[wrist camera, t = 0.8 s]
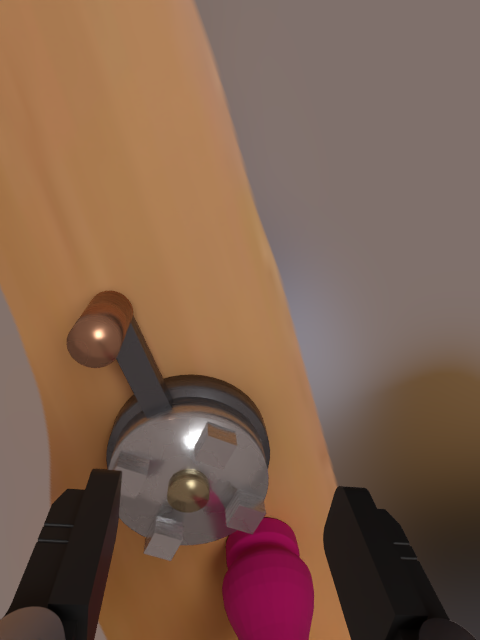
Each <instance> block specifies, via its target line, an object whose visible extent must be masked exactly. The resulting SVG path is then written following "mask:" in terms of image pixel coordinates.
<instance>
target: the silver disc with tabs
mask: <svg viewBox="0 0 480 640" xmlns="http://www.w3.org/2000/svg"><path fill="white" fill-rule="evenodd" d="M164 382H165V384H166V386H167V388H168V390H169V392H170V394H171V396H172V398H179V397H202V398H208V399H213V400H216V401H219V402H222V403H224V404H227V405H229V406H231V407H233V408H234V409H236V410H238V411H239V412H240V413H242V414H243V415H244V416H245V417H246V418H247V419H248V420H249V421H250V422H251V423H252V424H253V426H254V427H255V429H256V430H257V432H258V434H259V436H260V439H261V442H262V445H263V450H264V455H265V460H266V464H267V469H268V465H269V460H270V447H269V441H268V436H267V432H266V428H265V424H264V421H263V418H262V415H261V413H260V411H259V410H258V408H257V407H256V405H255V404H254V402H253V401H252V400H251V399H250V398H249V397H248V396H247V395H246V394H245V393H243V392H242V391H241V390H239V389H238V388H236V387H235V386H233V385H231V384H229V383H227V382H225V381H222V380H219V379H216V378H213V377H208V376H202V375H180V376H173V377H169V378H165V379H164ZM141 411H142V408H141V406H140V404H139V402H138V400H137V398H136V396H135V395H133V396H132V397H131V398H130V399H129V400H128V401H127V402H126V403H125V405H124V406H123V407H122V408H121V410H120V412H119V414H118V415H117V417H116V420H115V423H114V426H113V429H112V432H111V435H110V439H109V442H108V447H107V467H108V468H109V465H110V461H111V458H112V454H113V450H114V447H115V444H116V441H117V438H118V436H119V435H120V433H121V431H122V429H123V428H124V427H125V426H126V424H127V423H128V422H129V421H130V420H131V419H132V418H133V417H134V416H135V415H137V414H138V413H139V412H141Z"/></svg>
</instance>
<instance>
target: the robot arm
mask: <svg viewBox="0 0 480 640" xmlns="http://www.w3.org/2000/svg"><path fill="white" fill-rule="evenodd" d="M121 482H122V471H120V470H105V469H93V470H92V472H91V474H90V477H89V480H88V483H87V486H86V489H85V490H78V489H67V490H66V491H65V492H64V493H63V494H62V495H61V496H60V497H59V498H58V499H57V500H56V501H55V502H54V503H53V504H52V506H51V508H50V511H49V513H48V516H47V518H46V521H45V523H44V527H43V528H42V530H41V533H40V535H39V538H38V542H37V543H36V545H35V548H34V550H33V553H32V555H31V557H30V560H29V562H28V565H27V567H26V569H25V572H24V574H23V577H22V579H21V582H20V584H19V587H18V589H17V591H16V594H15V597H14V599H13V602H12V604H11V606H10V608H9V610H8V611H7V613H6V614H5V616H4V617H3V618H2V619H0V640H94V638H95V633H96V628H97V624H98V619H99V614H100V610H101V605H102V600H103V596H104V591H105V586H106V582H107V577H108V572H109V568H110V563H111V558H112V553H113V549H114V544H115V539H116V533H117V527H118V519H119V508H120V495H121ZM323 542H324V550H325V554H326V558H327V561H328V564H329V568H330V571H331V574H332V578H333V581H334V584H335V587H336V591H337V594H338V597H339V601H340V604H341V607H342V611H343V614H344V617H345V621H346V624H347V627H348V630H349V634H350V637H351V640H476V639H475V637H474V636H473V635H472V634H470V633H469V632H468V631H467V630H466V629H464V628H463V627H462V626H460V625H458V624H457V623H455V622H453V621H450V619H449V618H448V616H447V614H446V612H445V610H444V608H443V606H442V604H441V602H440V601H439V599H438V597H437V595H436V593H435V591H434V589H433V587H432V585H431V583H430V581H429V579H428V578H427V575H426V574H425V572H424V570H423V568H422V566H421V564H420V562H419V561H417V556H416V554H415V552H414V550H413V549H412V547H411V546H410V545H409V541H408V539H407V537H406V535H405V533H404V531H403V529H402V528H401V526H400V524H399V523H398V522H397V521H396V520H395V519H394V518H393V517H392V516H391V515H390V514H389V513H388V512H387V511H386V510H385V509H377V508H376V505H375V503H374V501H373V499H372V497H371V495H370V493H369V491H368V490H367V489H366V488H358V487H343V486H339V487H337V489H336V491H335V494H334V497H333V500H332V504H331V507H330V510H329V514H328V517H327V520H326V524H325V527H324V534H323Z"/></svg>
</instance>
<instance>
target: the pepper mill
mask: <svg viewBox="0 0 480 640" xmlns="http://www.w3.org/2000/svg"><path fill="white" fill-rule="evenodd" d="M226 559H227V567H228V571H227V572H226V574H225V577H224V580H223V586H222V593H223V600H224V607H225V610H226V613H227V616H228V619H229V621H230V623H231V625H232V627H233V629H234V631H235V633H236V635H237V637H238V638H239V640H308V639H309V632H310V627H311V621H312V616H313V609H314V589H313V583H312V577H311V573H310V571H309V569H308V567H307V565H306V564H305V563H304V562H303V561H302V560H301V559H300V558H299V549H298V545H297V541H296V537H295V534H294V532H293V530H292V529H291V528H290V527H289V526H288V525H287V524H286V523H284V522H282V521H280V520H278V519H273V518H268V517H267V518H263V519H262V521H261V522H260V524H259V525H258V527H257V528H256V530H255V532H254V533H253V535H252V534H249V533H246V532H242V531H239V530H237V531H236V532H234V533H232V534H230V535H229V537H228V539H227V542H226Z"/></svg>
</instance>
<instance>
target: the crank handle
mask: <svg viewBox="0 0 480 640" xmlns="http://www.w3.org/2000/svg"><path fill="white" fill-rule="evenodd" d="M67 348H68V351H69V353H70V355H71V356H72V357H73V359H74V360H76V361H77V362H78V363H80V364H81V365H84V366H87V367H91V368H99V367H104V366H107V365H109V364H110V363H112V362H113V361H114V360H115V359H117V361H118V363H119V365H120V367H121V369H122V371H123V373H124V375H125V377H126V379H127V381H128V383H129V385H130V387H131V389H132V391H133V393H134V395H135V396H136V398H137V400H138V402H139V404H140V406H141V408H142V411H141V412H139V413H138V414H137V415H135V416H134V417H133V418H132V419H131V420H130V421H129V422H128V423H127V424H126V426H125V427H124V428H123V429H122V431H121V433H120V435H119V436H118V438H117V441H116V444H115V447H114V450H113V454H112V458H111V461H110V465H109V468H108V470H120V471H122V482H121V495H120V508H119V518H120V519H121V520H122V521H123V522H124V523H125V524H126V525H127V526H128V527H130V528H131V529H132V530H134V531H135V532H137V533H138V534H140V535H142V536H144V537H146V539H145V546H144V554H147V555H151V556H155V557H158V558H162V559H166V560H169V561H171V560H172V558H173V556H174V554H175V553H176V551H177V549H178V547H179V546H180V545H197V544H203V543H208V542H212V541H216V540H218V539H221V538H224V537H226V536H228V535H230V534H232V533H234V532H236V531H237V530H239V531H242V532H246V533H249V534H252V535H253V533H254V532H255V530H256V528H257V527H258V525H259V524H260V522H261V521H262V519H263V518H264V516H265V514H266V511H265V506H264V499H265V496H266V494H267V489H268V470H267V464H266V460H265V455H264V450H263V445H262V442H261V439H260V436H259V434H258V432H257V430H256V429H255V427H254V426H253V424H252V423H251V422H250V421H249V420H248V419H247V418H246V417H245V416H244V415H243V414H242V413H240V412H239V411H238V410H236V409H234V408H233V407H231V406H229V405H227V404H224V403H222V402H219V401H216V400H213V399H208V398H202V397H179V398H172V396H171V394H170V392H169V390H168V388H167V386H166V384H165V382H164V379H163V377H162V375H161V373H160V371H159V369H158V367H157V365H156V362H155V360H154V358H153V356H152V354H151V352H150V350H149V347H148V345H147V343H146V341H145V339H144V337H143V335H142V333H141V330H140V328H139V326H138V324H137V322H136V320H135V318H134V316H133V308H132V305H131V303H130V301H129V300H128V299H127V298H126V297H125V296H124V295H122V294H121V293H118V292H115V291H104V292H101V293H99V294H97V295H96V296H94V298H93V299H92V300H91V302H90V303H89V305H88V306H87V307H86V309H85V310H84V312H83V313H82V315H81V316H80V318H79V319H78V321H77V322H76V323H75V325H74V326H73V328H72V329H71V331H70V332H69V334H68V337H67Z"/></svg>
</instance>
